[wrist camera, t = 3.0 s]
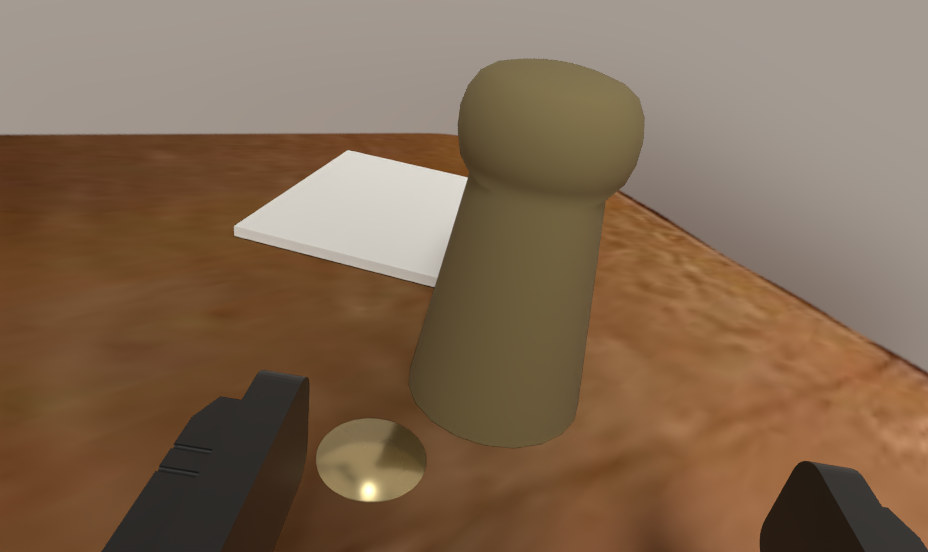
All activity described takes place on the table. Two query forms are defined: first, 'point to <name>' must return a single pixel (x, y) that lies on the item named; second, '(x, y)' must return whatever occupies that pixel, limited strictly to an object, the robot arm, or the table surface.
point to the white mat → (365, 216)
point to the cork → (524, 250)
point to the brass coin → (371, 460)
